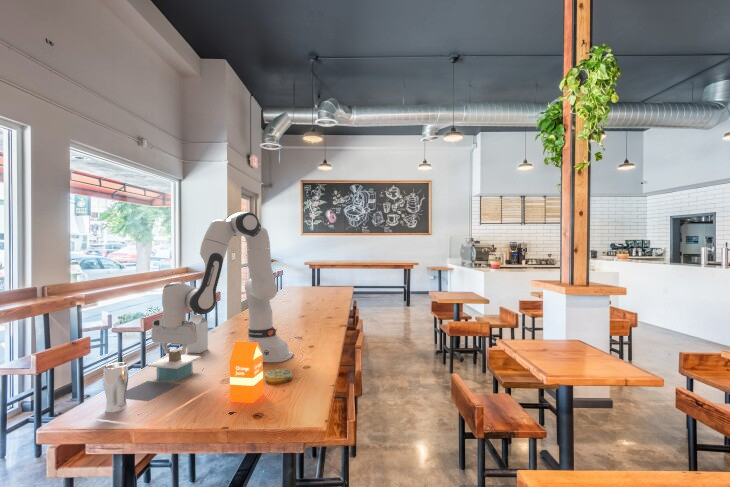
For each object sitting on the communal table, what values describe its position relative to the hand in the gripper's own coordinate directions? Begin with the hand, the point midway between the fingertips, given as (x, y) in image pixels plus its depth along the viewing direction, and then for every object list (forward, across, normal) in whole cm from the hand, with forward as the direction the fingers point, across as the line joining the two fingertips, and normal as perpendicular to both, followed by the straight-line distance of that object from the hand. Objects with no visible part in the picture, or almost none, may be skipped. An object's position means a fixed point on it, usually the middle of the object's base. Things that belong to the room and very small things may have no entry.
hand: (174, 353), depth 154 cm
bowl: (+10, 0, 0) cm, 10 cm away
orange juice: (+10, -42, +13) cm, 45 cm away
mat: (+10, -2, +16) cm, 19 cm away
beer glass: (+10, -4, +31) cm, 33 cm away
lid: (+4, 0, 0) cm, 4 cm away
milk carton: (+10, +16, -34) cm, 39 cm away
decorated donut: (+10, -45, -5) cm, 46 cm away
